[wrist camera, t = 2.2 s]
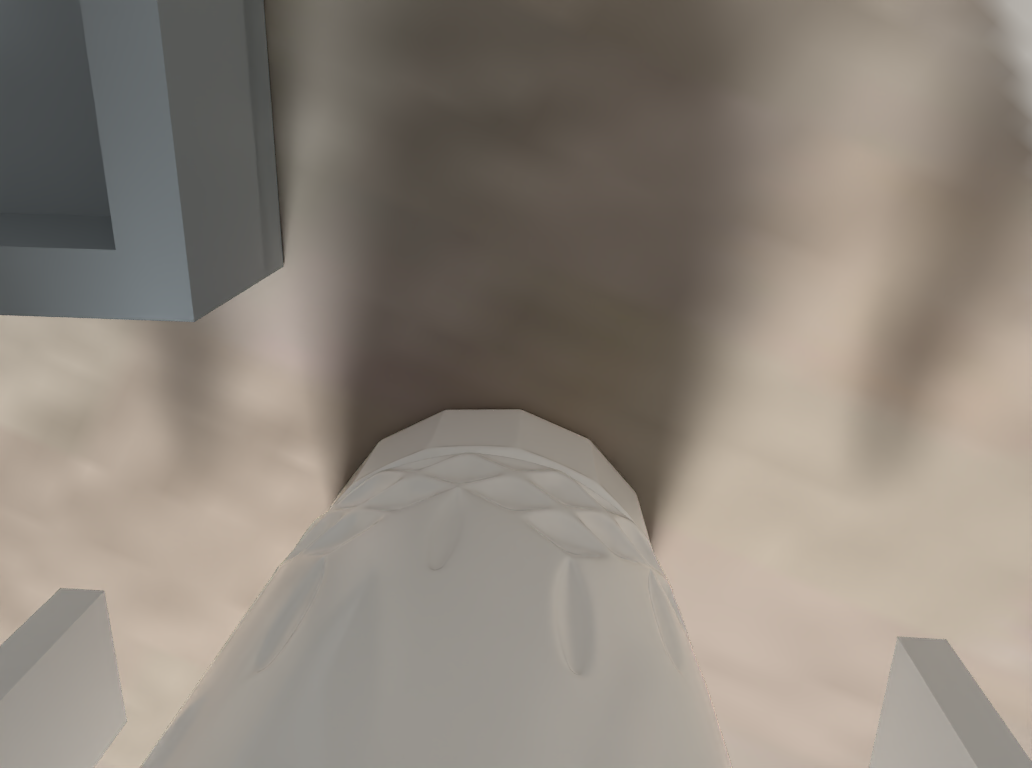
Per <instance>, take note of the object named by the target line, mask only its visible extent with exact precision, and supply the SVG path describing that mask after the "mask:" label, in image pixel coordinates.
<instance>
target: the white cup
mask: <svg viewBox="0 0 1032 768" xmlns="http://www.w3.org/2000/svg"><path fill="white" fill-rule="evenodd" d="M140 768H733V767H732V763H731V760H730V757H729V754H728V751H727V748H726V745H725V741H724V738H723V735H722V732H721V729H720V725H719V722H718V719H717V715H716V712H715V709H714V706H713V703H712V700H711V697H710V694H709V691H708V688H707V685H706V682H705V680H704V677H703V674H702V672H701V669H700V667H699V664H698V661H697V659H696V656H695V654H694V651H693V647H692V644H691V642H690V639H689V636H688V633H687V630H686V627H685V624H684V621H683V618H682V615H681V612H680V609H679V607H678V604H677V602H676V599H675V596H674V593H673V589H672V587H671V585H670V583H669V581H668V579H667V577H666V575H665V574H664V572H663V570H662V568H661V566H660V564H659V562H658V560H657V558H656V556H655V554H654V551H653V548H652V546H651V543H650V539H649V536H648V532H647V529H646V525H645V522H644V518H643V515H642V511H641V507H640V504H639V501H638V497H637V495H636V493H635V491H634V490H633V489H632V488H631V486H630V485H629V484H628V483H627V482H626V481H625V480H624V478H623V477H622V476H621V475H620V474H619V473H618V472H617V470H616V469H615V468H614V467H613V466H612V465H611V463H610V462H609V461H608V460H607V459H606V458H605V457H604V455H603V454H602V453H601V452H600V451H599V450H598V448H597V447H596V446H595V445H594V444H593V443H592V442H591V441H590V440H589V439H588V438H586V437H583V436H581V435H579V434H576V433H574V432H572V431H570V430H567V429H565V428H563V427H560V426H558V425H556V424H554V423H551V422H549V421H547V420H544V419H542V418H540V417H538V416H535V415H533V414H531V413H528V412H526V411H524V410H521V409H474V410H444V411H442V412H439V413H437V414H435V415H433V416H431V417H429V418H427V419H425V420H422V421H420V422H418V423H416V424H414V425H412V426H410V427H408V428H405V429H403V430H401V431H399V432H397V433H395V434H393V435H391V436H388V437H386V438H384V439H382V440H380V441H379V442H378V443H377V445H376V446H375V447H374V449H373V450H372V451H371V453H370V454H369V455H368V456H367V458H366V459H365V460H364V462H363V463H362V464H361V466H360V467H359V468H358V470H357V471H356V472H355V473H354V475H353V476H352V477H351V479H350V480H349V481H348V483H347V484H346V485H345V486H344V488H343V489H342V490H341V492H340V493H339V494H338V496H337V497H336V499H335V500H334V502H333V503H332V505H331V506H330V508H329V510H328V511H327V512H326V513H325V514H323V515H321V516H320V517H318V518H317V519H316V520H315V521H314V522H313V523H312V524H311V525H310V526H309V528H308V529H307V530H306V532H305V533H304V535H303V536H302V538H301V539H300V540H299V542H298V543H297V545H296V546H295V548H294V550H293V551H292V552H291V553H290V554H289V555H288V557H287V558H286V559H285V560H284V561H283V562H282V563H281V565H280V566H278V567H277V569H276V571H275V572H274V574H273V576H272V577H271V578H270V580H269V581H268V583H267V584H266V585H265V587H264V588H263V590H262V591H261V592H260V594H259V595H258V597H257V598H256V600H255V601H254V603H253V604H252V605H251V607H250V608H249V610H248V611H247V613H246V614H245V616H244V617H243V618H242V620H241V621H240V623H239V624H238V626H237V627H236V629H235V630H234V631H233V633H232V634H231V636H230V637H229V639H228V640H227V642H226V643H225V645H224V646H223V647H222V649H221V650H220V652H219V653H218V655H217V656H216V658H215V659H214V661H213V662H212V663H211V665H210V666H209V668H208V669H207V671H206V672H205V673H204V675H203V676H202V678H201V679H200V680H199V682H198V683H197V685H196V686H195V688H194V689H193V691H192V692H191V694H190V695H189V697H188V698H187V699H186V701H185V702H184V704H183V705H182V707H181V708H180V710H179V711H178V713H177V714H176V715H175V717H174V718H173V720H172V721H171V723H170V724H169V726H168V727H167V729H166V730H165V732H164V733H163V734H162V736H161V737H160V739H159V740H158V742H157V743H156V745H155V746H154V747H153V749H152V750H151V752H150V753H149V755H148V756H147V758H146V759H145V760H144V762H143V763H142V765H141V766H140Z"/></svg>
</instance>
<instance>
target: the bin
mask: <svg viewBox="0 0 1032 768" xmlns="http://www.w3.org/2000/svg"><path fill="white" fill-rule="evenodd" d="M282 267H283V253H282V240H281V226H280V213H279V200H278V186H277V173H276V160H275V146H274V133H273V119H272V106H271V93H270V79H269V66H268V53H267V39H266V26H265V12H264V0H0V315H18V316H45V317H73V318H101V319H129V320H156V321H184V322H195V321H196V320H198V319H200V318H201V317H203V316H205V315H206V314H208V313H209V312H211V311H213V310H214V309H216V308H217V307H219V306H221V305H222V304H224V303H225V302H227V301H229V300H230V299H232V298H233V297H235V296H237V295H238V294H240V293H242V292H243V291H245V290H246V289H248V288H250V287H251V286H253V285H254V284H256V283H258V282H259V281H261V280H262V279H264V278H266V277H267V276H269V275H271V274H272V273H274V272H275V271H277V270H279V269H280V268H282Z"/></svg>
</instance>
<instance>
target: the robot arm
mask: <svg viewBox="0 0 1032 768" xmlns="http://www.w3.org/2000/svg"><path fill="white" fill-rule="evenodd" d="M126 722H127V719H126V713H125V707H124V702H123V696H122V690H121V684H120V678H119V673H118V667H117V661H116V655H115V649H114V644H113V638H112V632H111V626H110V621H109V615H108V609H107V603H106V597H105V592H104V591H100V590H83V589H66V588H60V589H59V590H58V591H57V592H56V593H55V594H54V595H53V596H52V597H51V598H50V599H49V600H48V601H47V602H46V603H45V604H43V605H42V606H41V607H40V608H39V609H38V610H37V611H36V612H35V613H34V614H33V615H32V616H31V617H30V618H29V619H28V620H27V621H26V622H25V623H24V624H23V625H22V626H21V627H20V628H18V629H17V630H16V631H15V632H14V633H13V634H12V635H11V636H10V637H9V638H8V639H7V640H6V641H5V642H4V643H3V644H2V645H1V646H0V768H94V767H95V766H96V764H97V763H98V761H99V760H100V759H101V757H102V756H103V754H104V753H105V752H106V750H107V749H108V747H109V746H110V744H111V743H112V742H113V740H114V739H115V737H116V736H117V735H118V733H119V732H120V730H121V729H122V728H123V726H124V725H125V723H126ZM869 768H1032V761H1031V760H1030V759H1029V757H1028V756H1027V754H1026V753H1025V751H1024V750H1023V748H1022V747H1021V746H1020V744H1019V743H1018V741H1017V740H1016V738H1015V737H1014V736H1013V734H1012V733H1011V731H1010V730H1009V728H1008V727H1007V726H1006V724H1005V723H1004V721H1003V720H1002V718H1001V717H1000V716H999V714H998V713H997V711H996V710H995V708H994V707H993V706H992V704H991V703H990V701H989V700H988V698H987V697H986V696H985V694H984V693H983V691H982V690H981V688H980V687H979V686H978V684H977V683H976V681H975V680H974V678H973V677H972V676H971V674H970V673H969V671H968V670H967V668H966V667H965V666H964V664H963V663H962V661H961V660H960V658H959V657H958V656H957V654H956V653H955V651H954V650H953V648H952V647H951V645H950V644H949V643H948V641H947V640H946V639H929V638H911V637H897V641H896V646H895V651H894V655H893V660H892V664H891V669H890V673H889V678H888V683H887V687H886V692H885V696H884V701H883V705H882V710H881V715H880V719H879V724H878V728H877V733H876V737H875V742H874V747H873V751H872V756H871V760H870V765H869Z"/></svg>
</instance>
